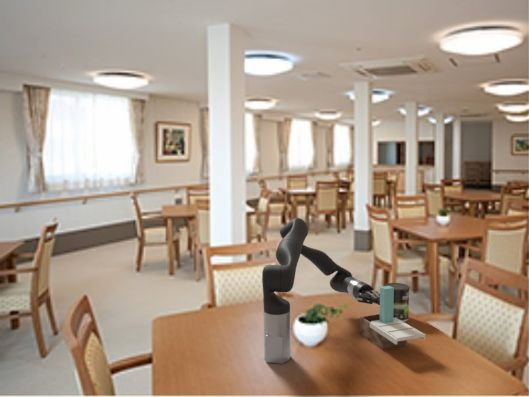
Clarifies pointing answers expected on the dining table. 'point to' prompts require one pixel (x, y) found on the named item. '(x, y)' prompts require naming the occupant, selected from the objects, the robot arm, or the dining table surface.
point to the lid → (392, 320)
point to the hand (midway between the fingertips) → (384, 303)
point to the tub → (377, 334)
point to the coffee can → (400, 301)
